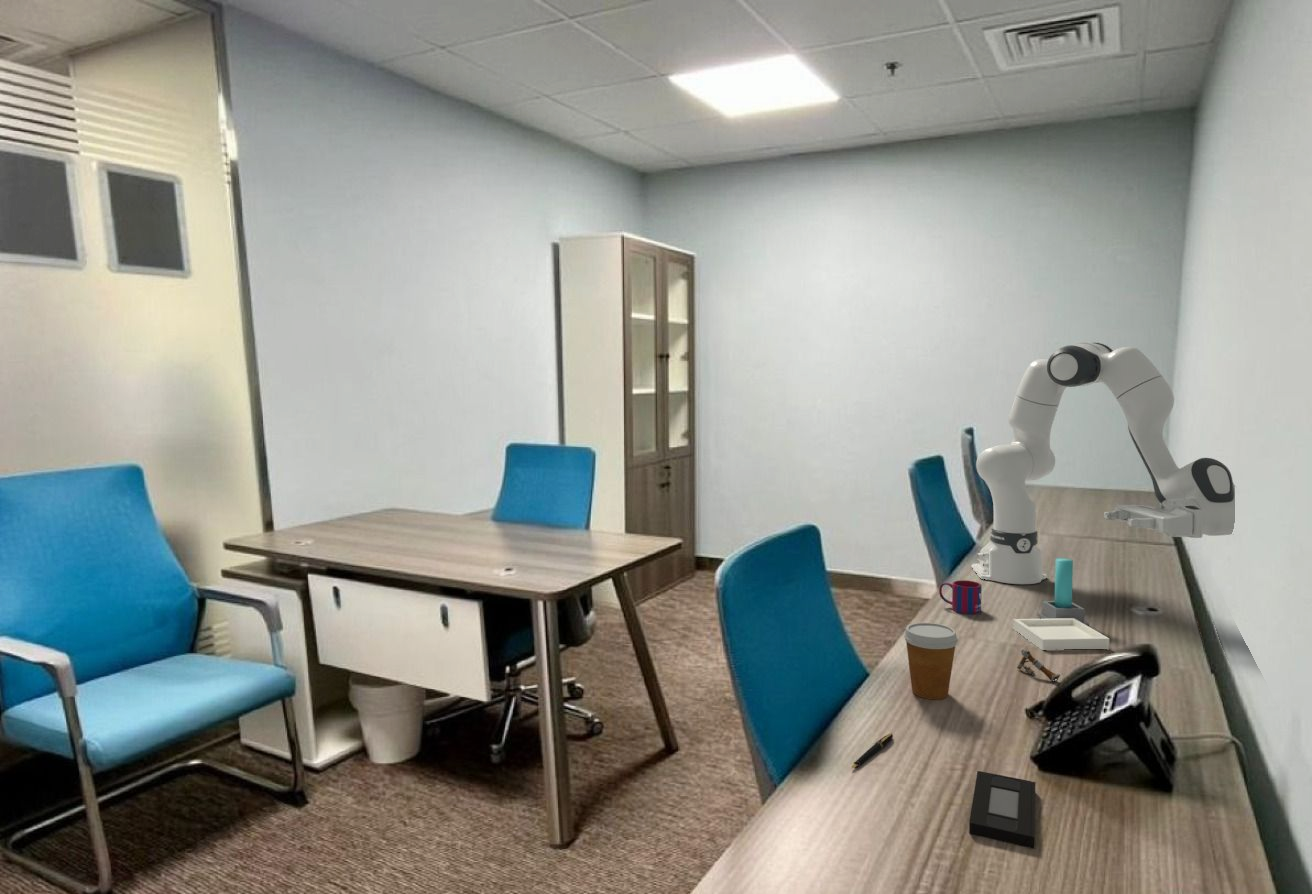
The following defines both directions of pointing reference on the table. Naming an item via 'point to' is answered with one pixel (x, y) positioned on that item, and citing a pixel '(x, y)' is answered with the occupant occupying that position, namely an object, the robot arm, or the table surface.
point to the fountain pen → (873, 750)
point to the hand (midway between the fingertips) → (1117, 519)
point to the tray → (1060, 634)
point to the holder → (1062, 612)
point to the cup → (964, 596)
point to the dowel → (1063, 583)
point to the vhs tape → (1003, 809)
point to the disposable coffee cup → (930, 658)
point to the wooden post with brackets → (1037, 664)
